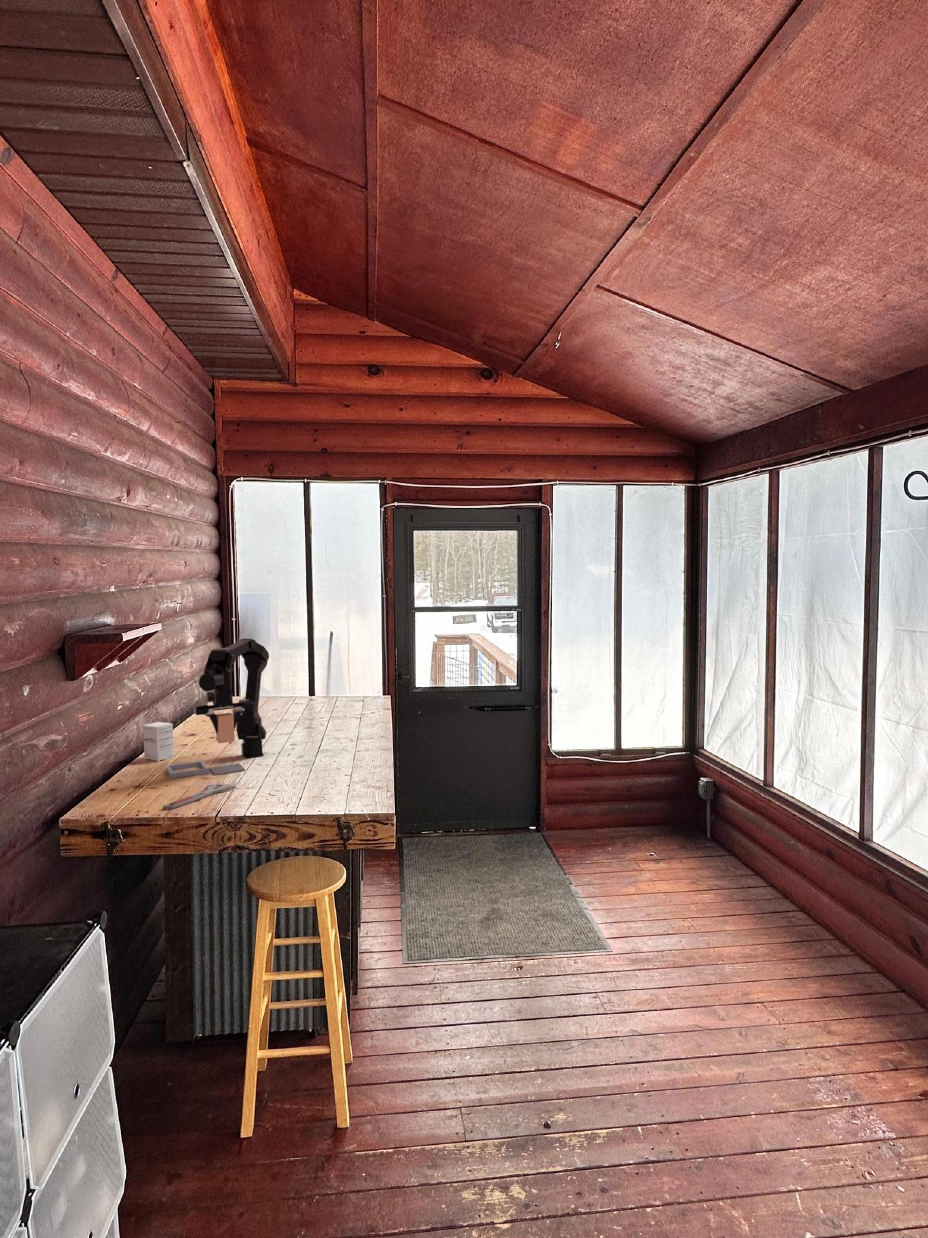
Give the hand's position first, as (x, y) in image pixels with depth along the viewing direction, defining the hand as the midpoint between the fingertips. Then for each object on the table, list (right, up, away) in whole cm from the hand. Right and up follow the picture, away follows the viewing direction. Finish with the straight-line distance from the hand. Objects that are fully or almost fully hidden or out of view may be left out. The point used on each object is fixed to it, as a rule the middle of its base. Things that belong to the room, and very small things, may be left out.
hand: (225, 732), depth 246 cm
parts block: (0, -3, 0) cm, 3 cm away
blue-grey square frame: (-13, -13, -1) cm, 18 cm away
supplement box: (-30, -13, +18) cm, 37 cm away
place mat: (0, -13, +1) cm, 13 cm away
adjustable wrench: (+2, -15, -29) cm, 33 cm away
